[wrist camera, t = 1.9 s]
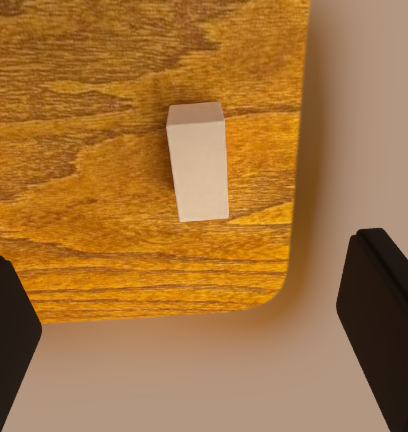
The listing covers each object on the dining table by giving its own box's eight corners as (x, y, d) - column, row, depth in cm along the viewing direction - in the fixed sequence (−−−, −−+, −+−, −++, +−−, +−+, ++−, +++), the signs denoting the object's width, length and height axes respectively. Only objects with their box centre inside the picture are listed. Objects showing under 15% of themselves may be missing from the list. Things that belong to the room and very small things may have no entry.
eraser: (169, 105, 21) (165, 125, 18) (220, 100, 20) (225, 120, 18) (180, 193, 24) (179, 222, 21) (224, 189, 24) (228, 219, 21)
